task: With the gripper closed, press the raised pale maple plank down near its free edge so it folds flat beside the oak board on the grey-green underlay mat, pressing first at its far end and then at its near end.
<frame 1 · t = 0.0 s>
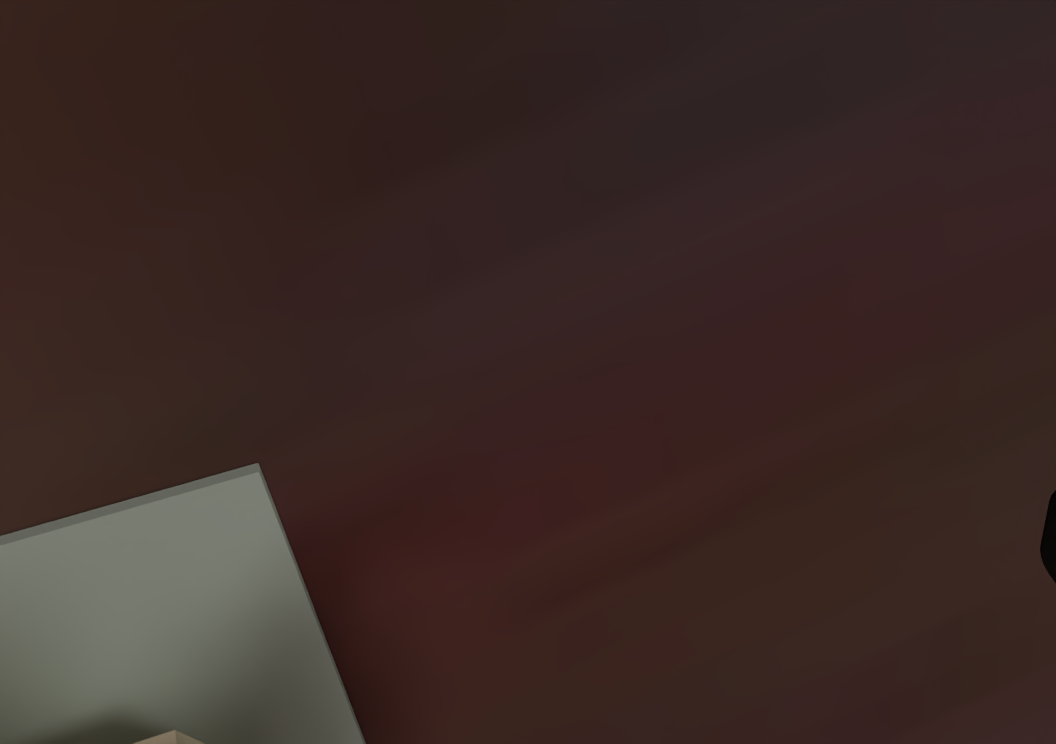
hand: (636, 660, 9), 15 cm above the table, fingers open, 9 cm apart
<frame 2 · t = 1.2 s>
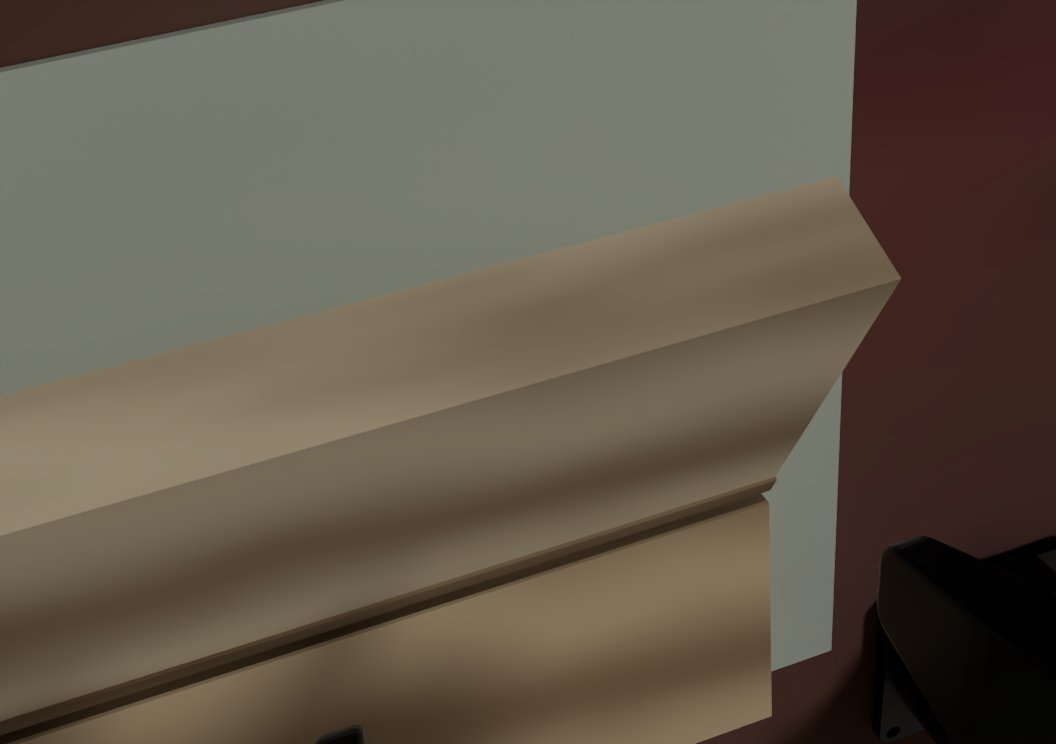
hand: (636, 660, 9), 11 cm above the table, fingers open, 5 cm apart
oak board: (274, 702, 23), resting on underlay mat
underlay mat: (202, 542, 20), on the table
plank: (142, 554, 15), point 4 cm above the table, hinge at 30.0°
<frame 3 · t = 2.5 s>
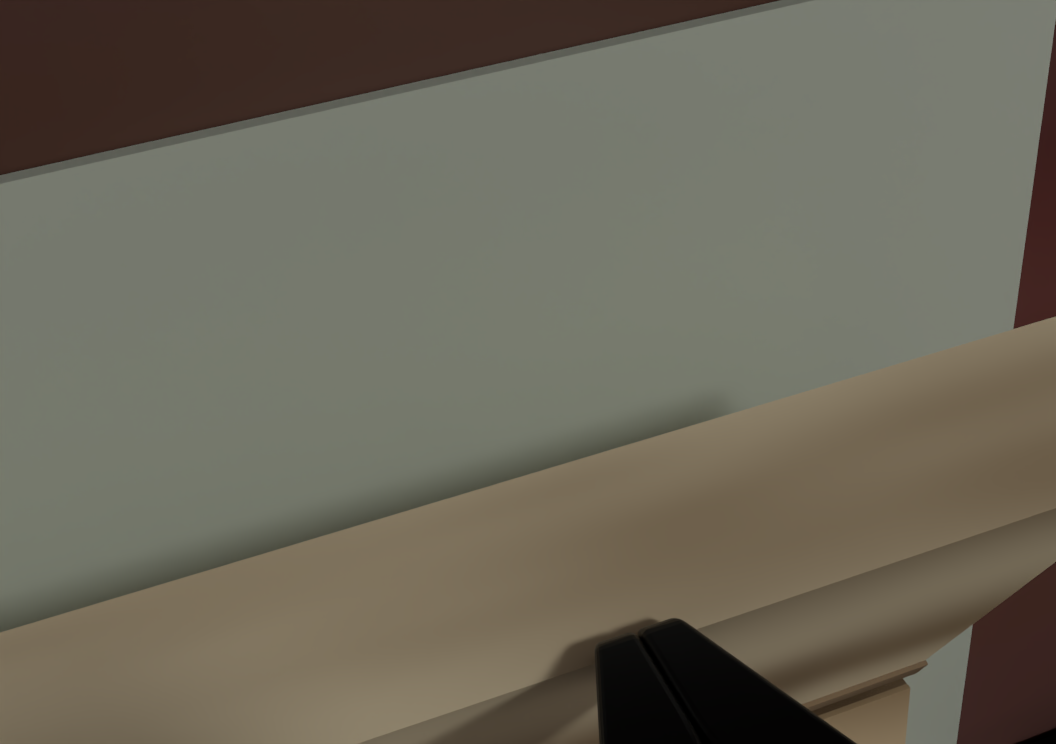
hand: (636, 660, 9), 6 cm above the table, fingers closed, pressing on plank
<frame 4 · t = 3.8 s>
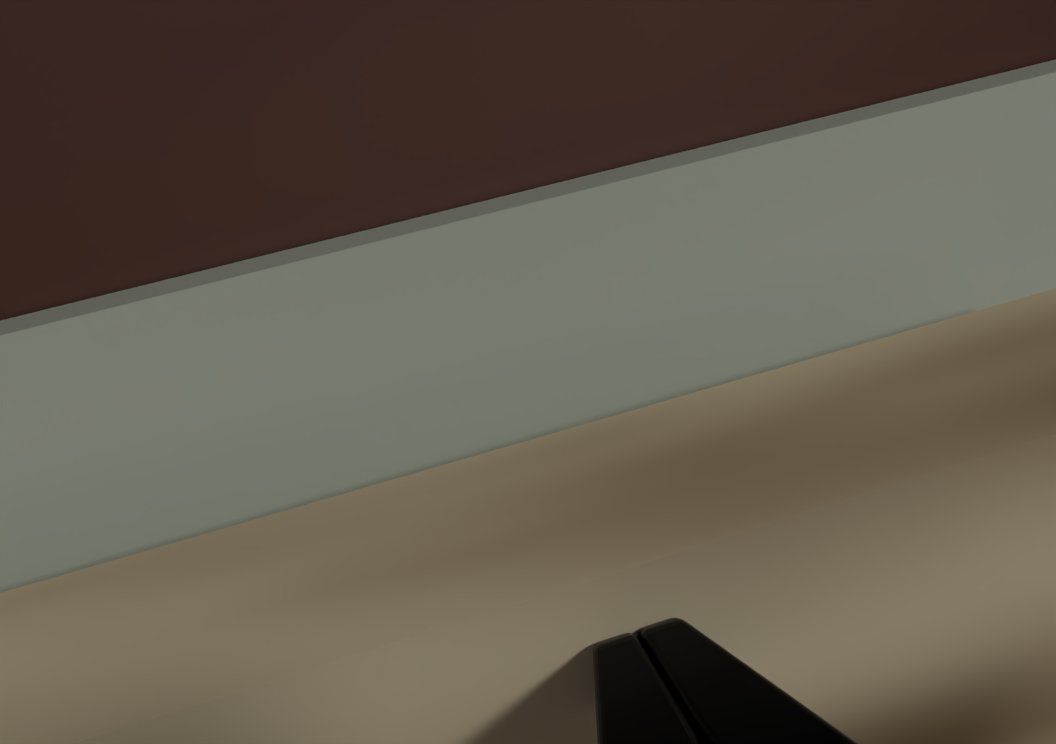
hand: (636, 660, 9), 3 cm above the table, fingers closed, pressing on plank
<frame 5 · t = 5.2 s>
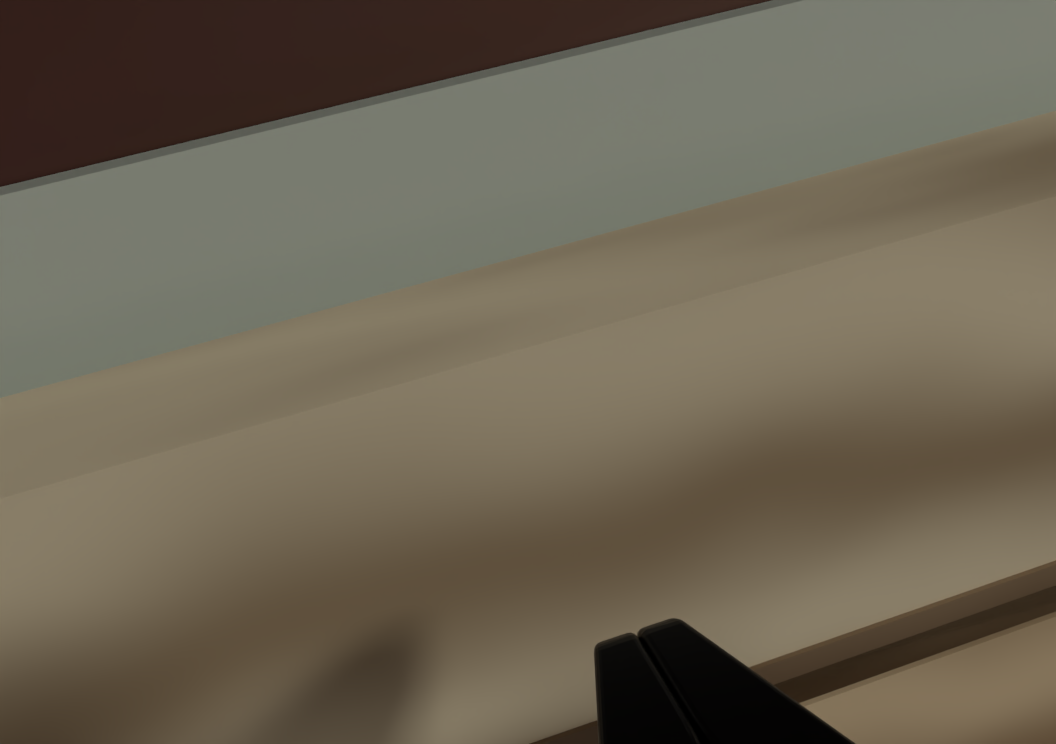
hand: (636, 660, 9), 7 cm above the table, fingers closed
underlay mat: (581, 608, 17), on the table
plank: (588, 521, 14), point 2 cm above the table, hinge at 5.3°
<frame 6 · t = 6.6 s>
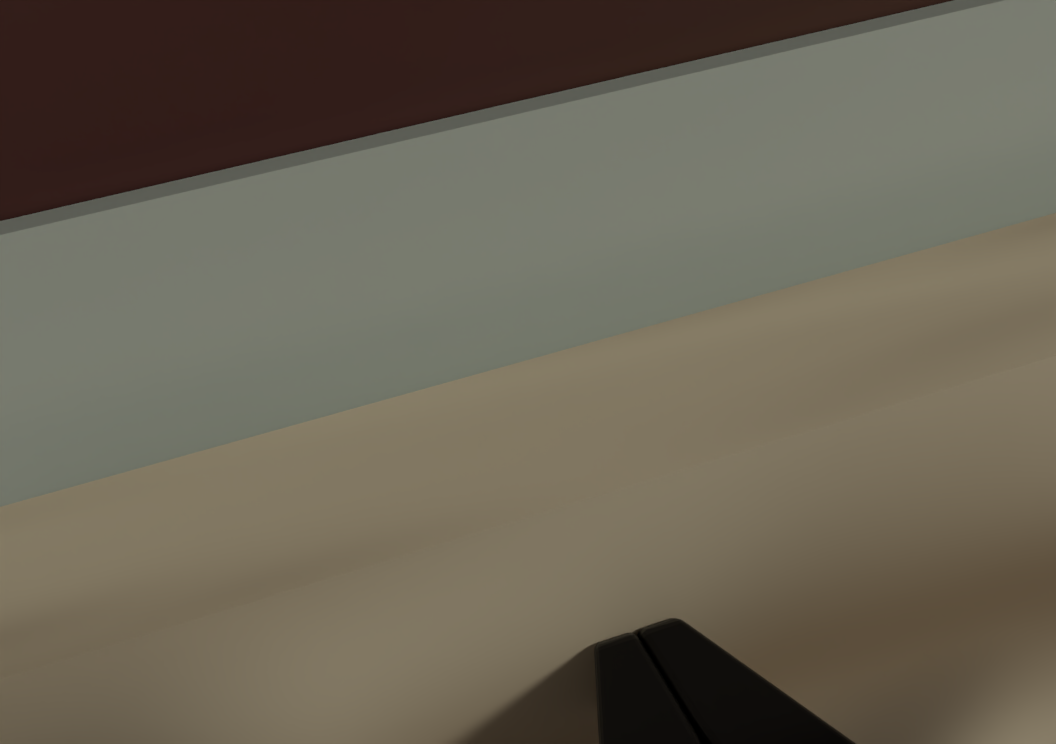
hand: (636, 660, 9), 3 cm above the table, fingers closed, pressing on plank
underlay mat: (935, 633, 15), on the table
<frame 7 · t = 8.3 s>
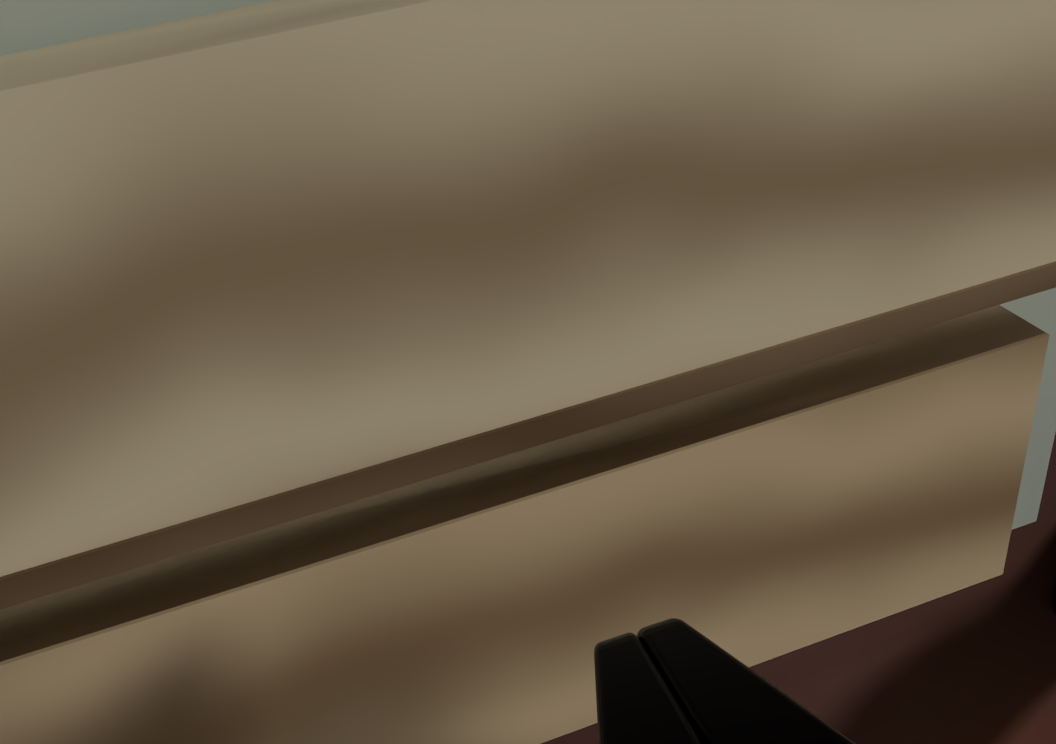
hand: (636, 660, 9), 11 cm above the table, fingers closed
oak board: (525, 554, 22), resting on underlay mat
underlay mat: (490, 370, 19), on the table
plank: (483, 231, 16), point 2 cm above the table, hinge at 2.3°
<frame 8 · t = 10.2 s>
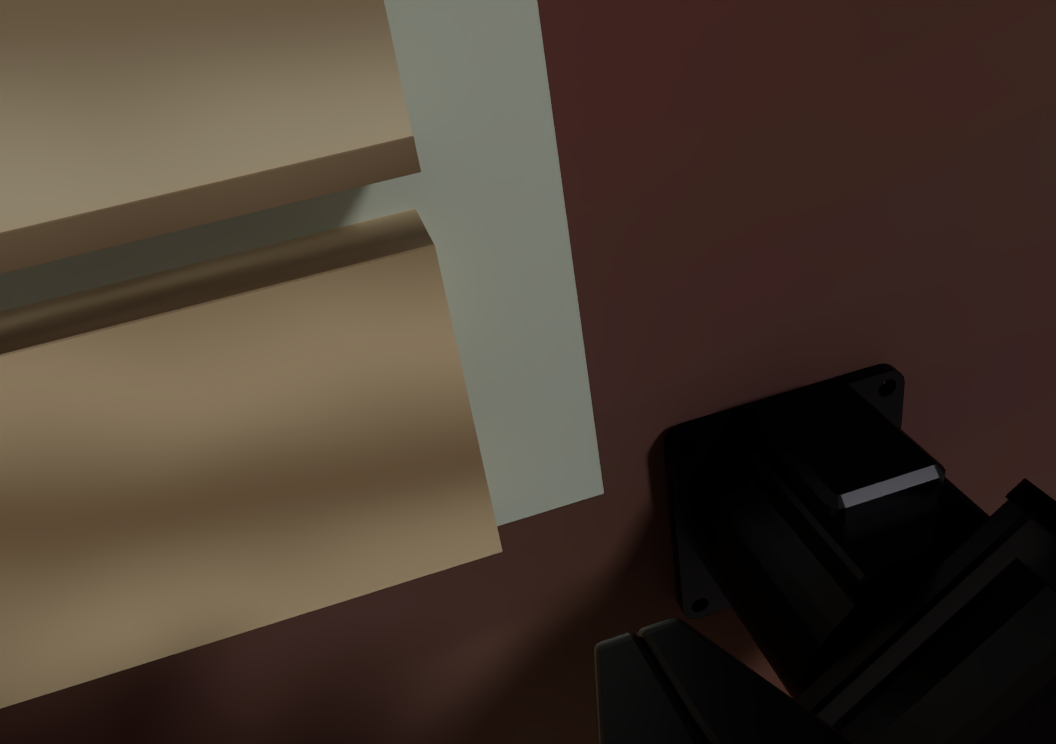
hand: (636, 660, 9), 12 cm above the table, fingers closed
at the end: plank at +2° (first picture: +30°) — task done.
